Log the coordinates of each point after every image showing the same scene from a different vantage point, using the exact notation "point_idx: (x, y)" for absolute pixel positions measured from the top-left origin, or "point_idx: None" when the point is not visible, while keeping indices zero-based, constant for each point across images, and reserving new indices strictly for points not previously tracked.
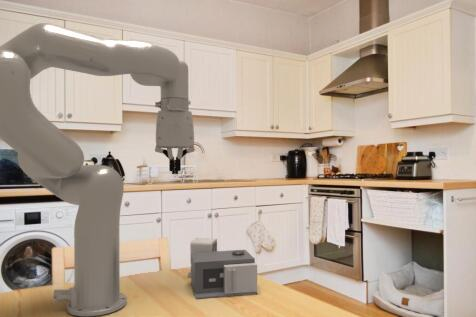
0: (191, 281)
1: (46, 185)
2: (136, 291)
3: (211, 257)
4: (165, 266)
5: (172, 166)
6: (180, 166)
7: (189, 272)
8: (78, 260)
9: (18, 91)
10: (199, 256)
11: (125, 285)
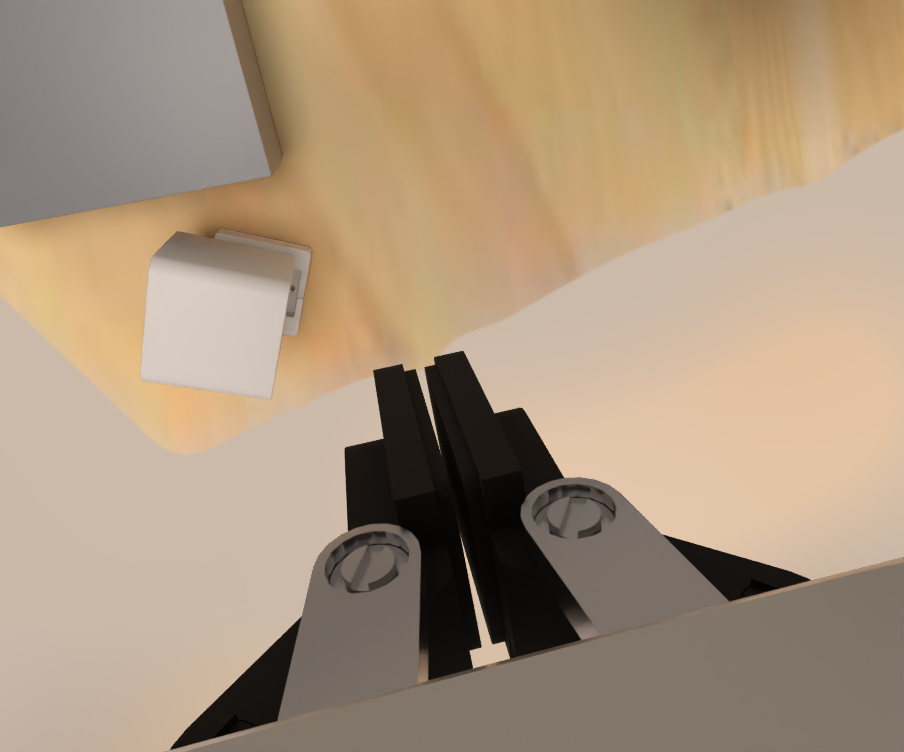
0: (274, 132)
1: None
2: (510, 47)
3: (114, 39)
4: None
5: (483, 399)
6: (348, 474)
7: (305, 254)
8: None
9: None
10: (199, 74)
11: (568, 139)
